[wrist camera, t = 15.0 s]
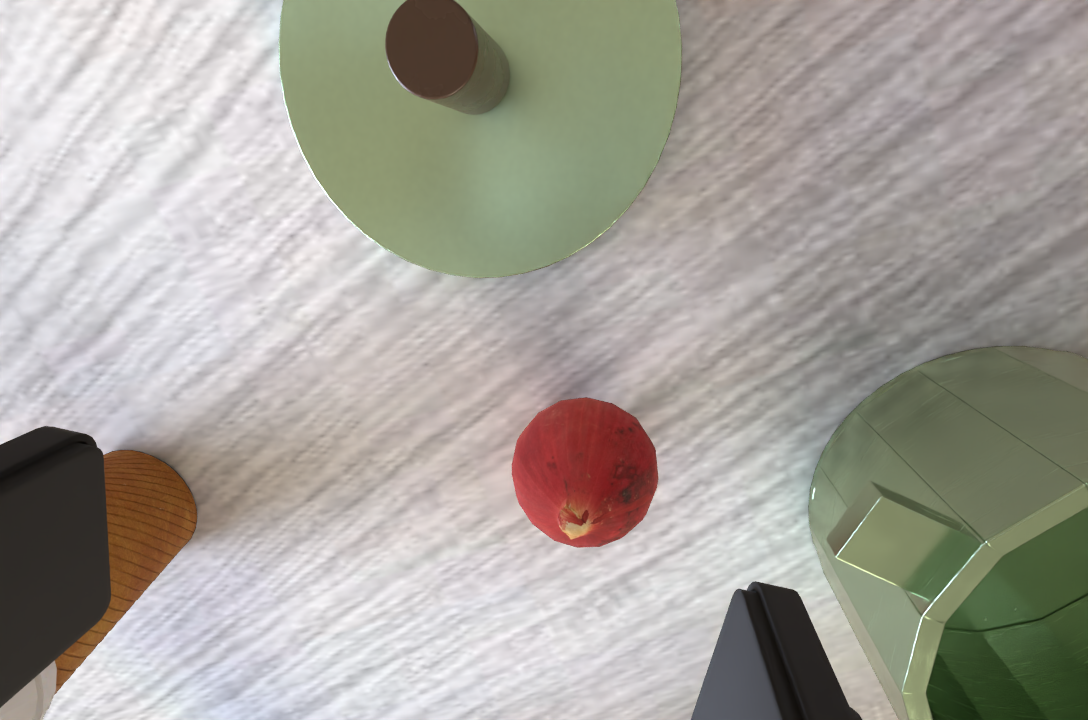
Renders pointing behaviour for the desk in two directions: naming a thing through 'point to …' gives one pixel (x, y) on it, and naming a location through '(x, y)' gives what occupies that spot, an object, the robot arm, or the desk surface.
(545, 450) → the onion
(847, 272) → the desk surface
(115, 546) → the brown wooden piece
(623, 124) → the pot lid
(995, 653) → the pot
